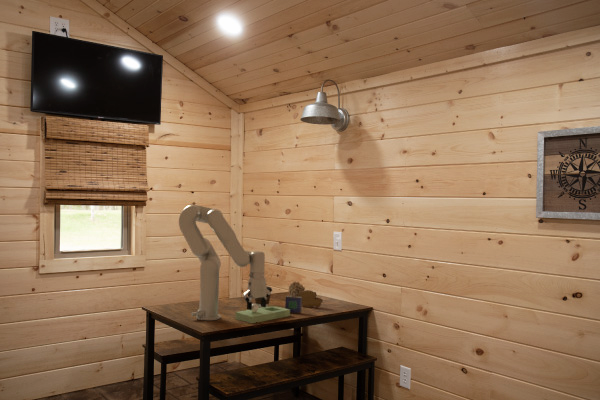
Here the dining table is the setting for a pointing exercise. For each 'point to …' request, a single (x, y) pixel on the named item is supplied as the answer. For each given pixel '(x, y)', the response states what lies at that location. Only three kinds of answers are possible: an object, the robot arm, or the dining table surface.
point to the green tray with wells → (262, 314)
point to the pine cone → (296, 288)
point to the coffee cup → (258, 300)
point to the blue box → (293, 304)
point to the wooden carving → (310, 299)
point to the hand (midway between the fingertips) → (256, 308)
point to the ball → (254, 308)
